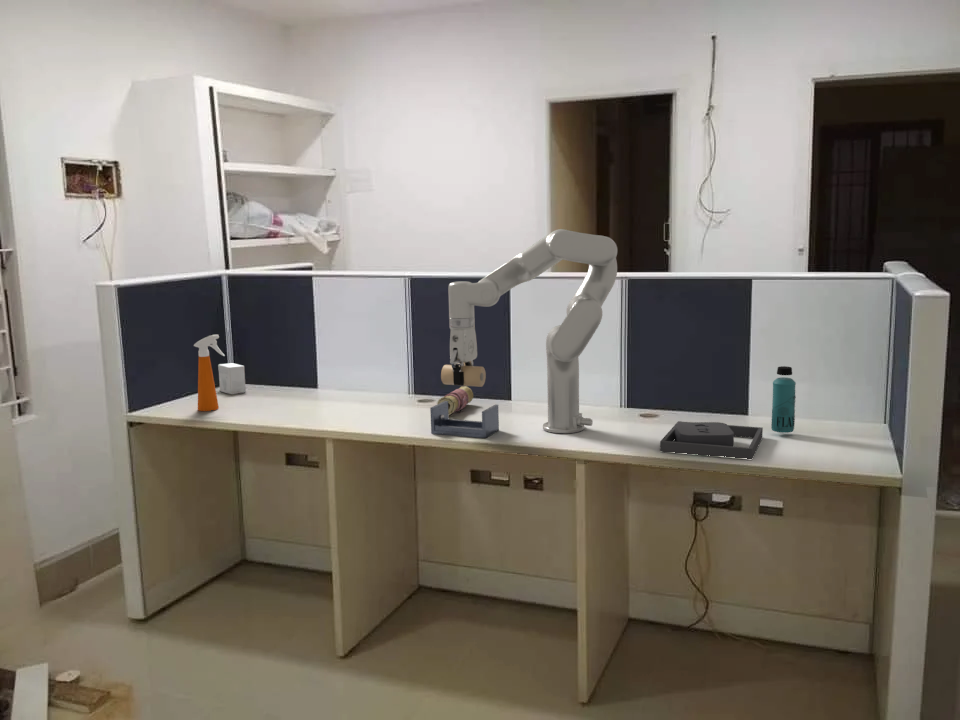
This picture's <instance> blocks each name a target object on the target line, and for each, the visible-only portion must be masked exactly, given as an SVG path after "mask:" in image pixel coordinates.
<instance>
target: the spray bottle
mask: <svg viewBox="0 0 960 720" xmlns="http://www.w3.org/2000/svg"><path fill="white" fill-rule="evenodd" d="M219 335H220V334H212V335H211V334H210V335H207V336H206V337H203V338H202V339H200V340H198V341H196V342H195V343H194V344H193V347H195V348H198V354H197V355H198V361H197V362H198V363H197V364H198V367H197V368H198V370H197V371H198V372H197V375H198V376H197V411H199V412H212V411H211V410H213V411H215V410H218V409H219V408H220V407H219V402H218V396H217V389H216V386H215V380H214V379H215V378H214V374H213V368H212V362H211V357H210V351H209V350H210V349H208V348H209V347H211V348H212V349H213V350H215V351H216V352H217V353H218V354H219V355H221V356H223V357H225V356H226V355H225V354H224V353H223V351H222V350H221V349H220V348H219V346H218V341H217V340H218V339H219V338H220V336H219Z"/></svg>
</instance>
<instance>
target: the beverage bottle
mask: <svg viewBox="0 0 960 720" xmlns="http://www.w3.org/2000/svg"><path fill="white" fill-rule="evenodd" d="M776 374H777V375H780V376H781V377H777V378H775V379H774V380H773V381H772V404H771V405H772V408H771V426H770V427H771V431H772V432H777V433H780V434H781V433H783V434H784V433H785V434H786V433H792V432H794V430H795V423H796V418H795V416H796V414H795V412H796V409H795V407H796V384H797V383H796V381H795V380H794V379H793V378H791V377H782V376H792V375H793V368H792V367H791V366H785V365H784V366H778V367H777V370H776Z"/></svg>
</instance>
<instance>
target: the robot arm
mask: <svg viewBox="0 0 960 720" xmlns="http://www.w3.org/2000/svg"><path fill="white" fill-rule="evenodd" d="M617 255H618V246H617V243H616V242H615V241H614V240H613V239H612V238H611V237H609V236H604V235H601V234H600V235H598V234H590V233H585V232H578V231H572V230H568V229H565V228H564V229H563V228H559V229H555V230H553V231H551V232H550V233H548V234H547V235H545V236H544V237H542V238H541V239H540V240H538V241H536V242H535V243H533V244H532V245H530V246H529V247H528V248H526V249H525V250H523V251H521V252H520V253H519V254H517V255H515V256H514V257H512V258H511V259H510V260H508V261H507V262H505V263H504V264H502V265H501V266H500V267H498V268H496V269H495V270H493V271H492V272H491V273H489V274H487V275H486V276H484V277H483V278H481V279H480V280H478V282H471V281H461V280H460V281H453V282H450V283H449V284H448V288H447V289H448V290H447V291H448V320H449V321H448V322H449V324H448V325H449V329H450V334H449V335H450V336H449V337H450V338H449V356H450V357H449V359H450V360H449V365H451V366H452V368H453V370H452V371H453V381H454V385H453V386H461V385H464V372H462V370H463V366H475V365H474V362H475V360H476V359H477V358H478V344H477V342H478V341H477V333H476V327H475V324H476V323H475V322H476V321H475V319H476V318H475V306H477V307H484V308H486V307H488V308H489V307H492V306H494V305H496V304H497V303H498V302H499V300H500V298H501V296H503V295H504V294H506V293H507V292H509V291H510V290H512V289H514V288H515V287H516V286H518V285H521V284H524V283H526V282H530V281H532V280H534V279H535V278H538V277H539V276H540V275H542V274H543V273H545V272H546V271H547V270H549V269H551V268H552V267H554V266H556V265H557V264H558V263H560V262H561V261H562V260H564V261H568V262H573V263H579V264H580V263H581V264H586V265H588V270H587V273H586V275H585V277H584V278H583V281H582V283H580V286H579V287H578V289H577V291H576V292H575V294H574V295H573V297H572V298H571V299H570V301H569V302H568V304H567V307H566V316H565V318H564V319H563V321H562V322H561V324H559V325H556V326H554V327H552V328H551V329H550V330H549V331H548V333H547V335H546V338H545V339H546V341H545V351H546V369H547V370H546V371H547V373H546V375H547V383H546V384H547V422H544V423H543V425H542V429H543V431H546V432H549V433H553V434H575V433H579V432H583V430H584V429H585V426H586V427H589V426H590V427H592V426H593V419H591V418H590V417H589V418H588V417H583V413H582V412H580V361H579V360H580V359H579V357H580V355H582V353H583V351H584V350H585V349H586V347H587V346H588V344H589V343H590V341H591V339H592V338H593V336H594V334H595V333H596V331H597V329H598V328H599V326H600V324H601V322H602V319H603V308H602V306H603V305H604V303H605V301H606V299H607V297H608V296H609V294H610V292H611V290H612V288H613V287H614V285H615V282H616V279H617V275H618V262H617ZM459 365H460V367H459Z"/></svg>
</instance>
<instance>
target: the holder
mask: <svg viewBox="0 0 960 720" xmlns="http://www.w3.org/2000/svg"><path fill="white" fill-rule="evenodd" d="M429 409H430V430H431V431H430V433H431V434H434V435H443V436H444V435H445V436H452V437H453V436H454V437H467V438H475V439H476V438H478V439H487V438H489V437H490V436H492V435H493V434H495V433H497V432H498V431H500V420H499V419H500V418H499V404H494V405H491V406H489V407H488V408H486V409H484V410H483V411H481V421H478V420H468V419H467V420H466V419H456V418H455V419H454V418H450V417H449V416H450V415H448V401H444V402H442V403H439V404H435V405H433V406H431V407H429Z"/></svg>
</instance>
